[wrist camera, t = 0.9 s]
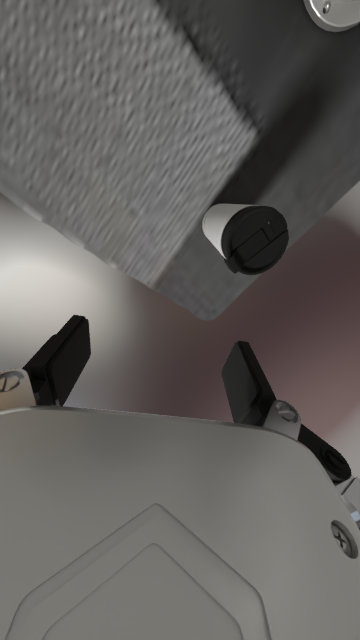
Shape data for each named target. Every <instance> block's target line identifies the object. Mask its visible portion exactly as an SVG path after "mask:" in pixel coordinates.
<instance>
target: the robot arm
mask: <svg viewBox="0 0 360 640" xmlns="http://www.w3.org/2000/svg"><path fill="white" fill-rule="evenodd" d="M304 4H305V7H306V9H307V11H308V13H309V15H310V17H311V19H312V20H313V21H314V22H315V23H316V24H317V25H318V26H319V27H321V28H323V29H324V30H326V31H332V32H340V31H346V30H348V29H350V28H352V27H355V26H357V25H358V24H360V0H304ZM90 354H91V349H90V335H89V322H88V319H86V318H85V317H84V316H78V315H73V316H72V317H71V318H70V320H69V321H68V322H67V323H66V324H65V325H64V326H63V327H62V329H61V330H60V331H59V332H58V333H57V334H55V335H53V336H52V337H51V338H50V339H49V340H48V341H47V342H46V343H45V344H44V345H43V346H42V347H41V349H40V350H39V351H38V352H37V353H36V354H35V355H34V356H33V357H32V358H31V359H30V361H29V362H28V363H27V364H26V365H25V366H24V367H23V368H22V369H9V370H4V371H2V372H0V640H360V479H359V478H358V477H355V478H354V477H353V476H352V475H351V469H350V467H349V465H348V463H347V461H346V460H345V458H344V457H343V456H342V455H341V454H340V453H339V452H338V451H337V450H336V449H334V448H333V447H332V446H330V445H329V444H328V443H326V442H325V441H324V440H322V439H321V438H320V437H318V436H317V435H316V434H314V433H313V432H312V431H310V430H309V429H308V428H306V427H305V426H304V425H303V424H301V417H300V414H299V413H298V411H297V410H296V409H295V408H294V407H293V406H292V405H291V404H289V403H288V402H286V401H283V400H277V399H276V397H275V395H274V393H273V391H272V389H271V387H270V385H269V383H268V381H267V379H266V377H265V375H264V373H263V371H262V369H261V367H260V365H259V363H258V361H257V359H256V357H255V355H254V353H253V351H252V349H251V347H250V345H249V343H248V342H245V341H238V342H236V343H235V344H234V346H233V348H232V350H231V352H230V354H229V357H228V359H227V361H226V363H225V365H224V367H223V369H222V377H223V381H224V385H225V389H226V393H227V397H228V401H229V405H230V409H231V413H232V416H233V420H234V423H231V422H222V421H213V420H203V419H194V418H184V417H174V416H164V415H153V414H143V413H133V412H123V411H112V410H101V409H91V408H78V407H64V406H63V405H64V403H65V401H66V399H67V398H68V396H69V394H70V392H71V390H72V388H73V387H74V385H75V383H76V381H77V379H78V377H79V376H80V374H81V372H82V370H83V369H84V367H85V365H86V363H87V361H88V359H89V358H90Z"/></svg>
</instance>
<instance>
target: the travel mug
mask: <svg viewBox="0 0 360 640" xmlns="http://www.w3.org/2000/svg"><path fill="white" fill-rule="evenodd" d="M202 228H203V232H204V234H205V236H206V237H207V238H208V239H209V240H210V241H211V243H212V244H213V245H214V246H215V247H216V248H217V250H218V251H219V252H220V253H221V254H222V255H223V256H224V258H225V259H224V260H225V263H226V265H227V266H228V268H229V269H230V270H231V271H232V272H233V273H237V272H238V271H239V272H241V273H243V274H247V275H256V274H260V273H263V272H265V271H267V270H269V269H270V268H271V267H273V266H274V265H275V264H276V263H277V262H278V261H279V259H280V258H281V257H282V255H283V254H284V252H285V249H286V247H287V244H288V240H289V236H288V230H287V223H286V220H285V218H284V217H283V215H282V214H280V213H279V212H278V211H277V210H276V209H274V208H272V207H268V206H259V205H243V204H216V205H214V206H212V207H211V208H209V209H208V210H207V212H206V213H205V215H204V217H203V221H202Z"/></svg>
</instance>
